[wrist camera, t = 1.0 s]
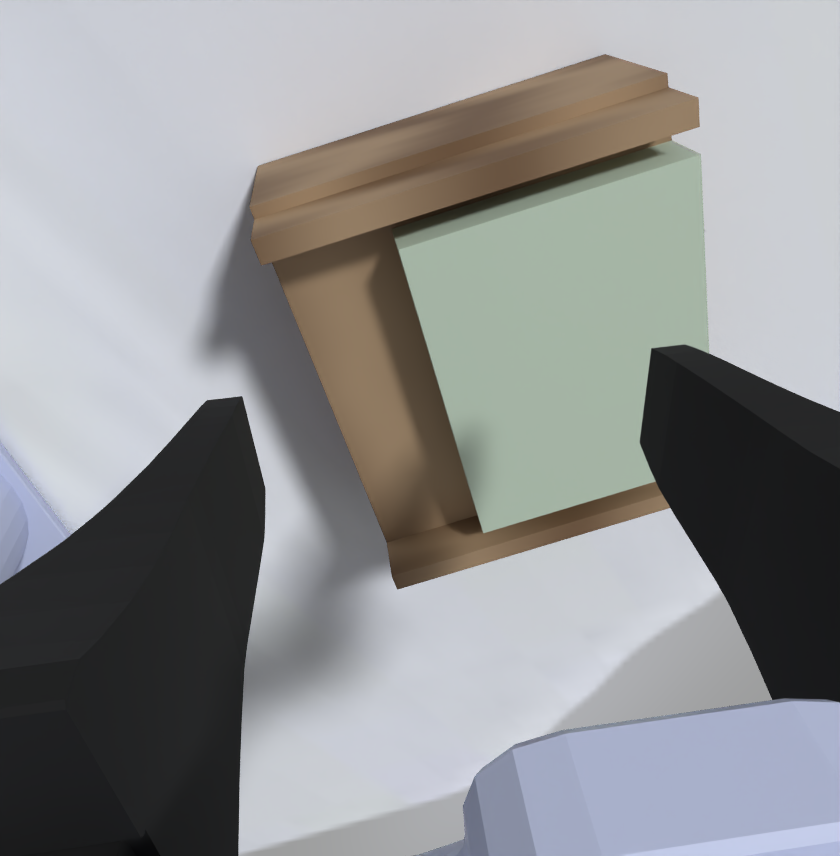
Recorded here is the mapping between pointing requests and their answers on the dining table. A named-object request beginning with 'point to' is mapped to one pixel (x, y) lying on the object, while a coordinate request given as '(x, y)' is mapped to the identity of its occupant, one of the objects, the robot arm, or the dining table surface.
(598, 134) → the walnut box
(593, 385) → the cover plate
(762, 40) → the dining table surface
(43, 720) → the robot arm
